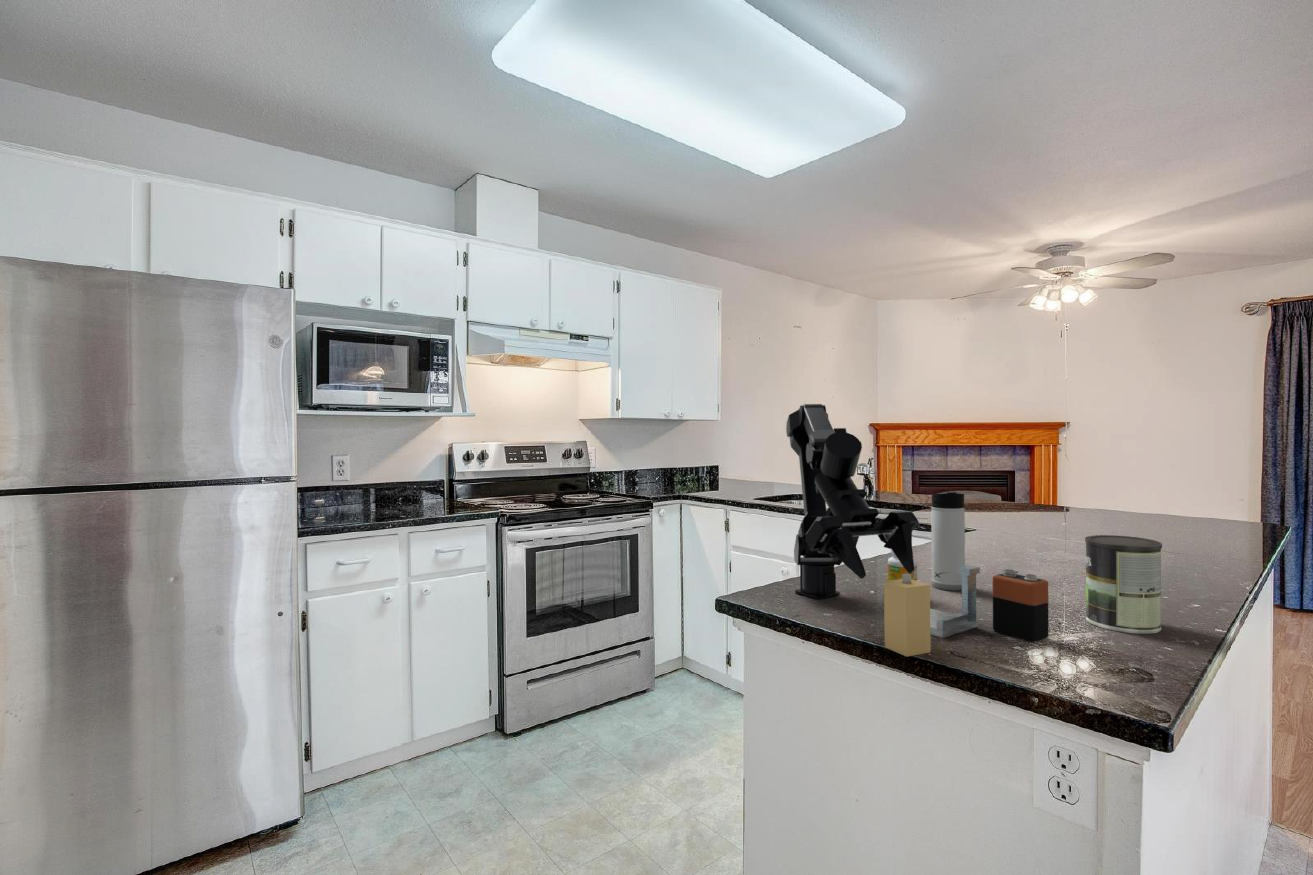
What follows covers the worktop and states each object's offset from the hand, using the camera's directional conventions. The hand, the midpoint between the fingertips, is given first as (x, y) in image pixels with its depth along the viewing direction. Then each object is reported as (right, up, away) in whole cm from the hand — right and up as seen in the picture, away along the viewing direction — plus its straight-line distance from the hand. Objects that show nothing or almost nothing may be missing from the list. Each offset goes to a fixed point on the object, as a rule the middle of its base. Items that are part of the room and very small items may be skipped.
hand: (888, 574), depth 97 cm
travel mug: (+25, -10, +34) cm, 44 cm away
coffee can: (+42, -10, +9) cm, 44 cm away
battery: (+22, -11, +4) cm, 25 cm away
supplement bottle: (+13, -11, +28) cm, 32 cm away
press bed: (+11, -10, +9) cm, 18 cm away
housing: (+2, -11, -2) cm, 11 cm away
